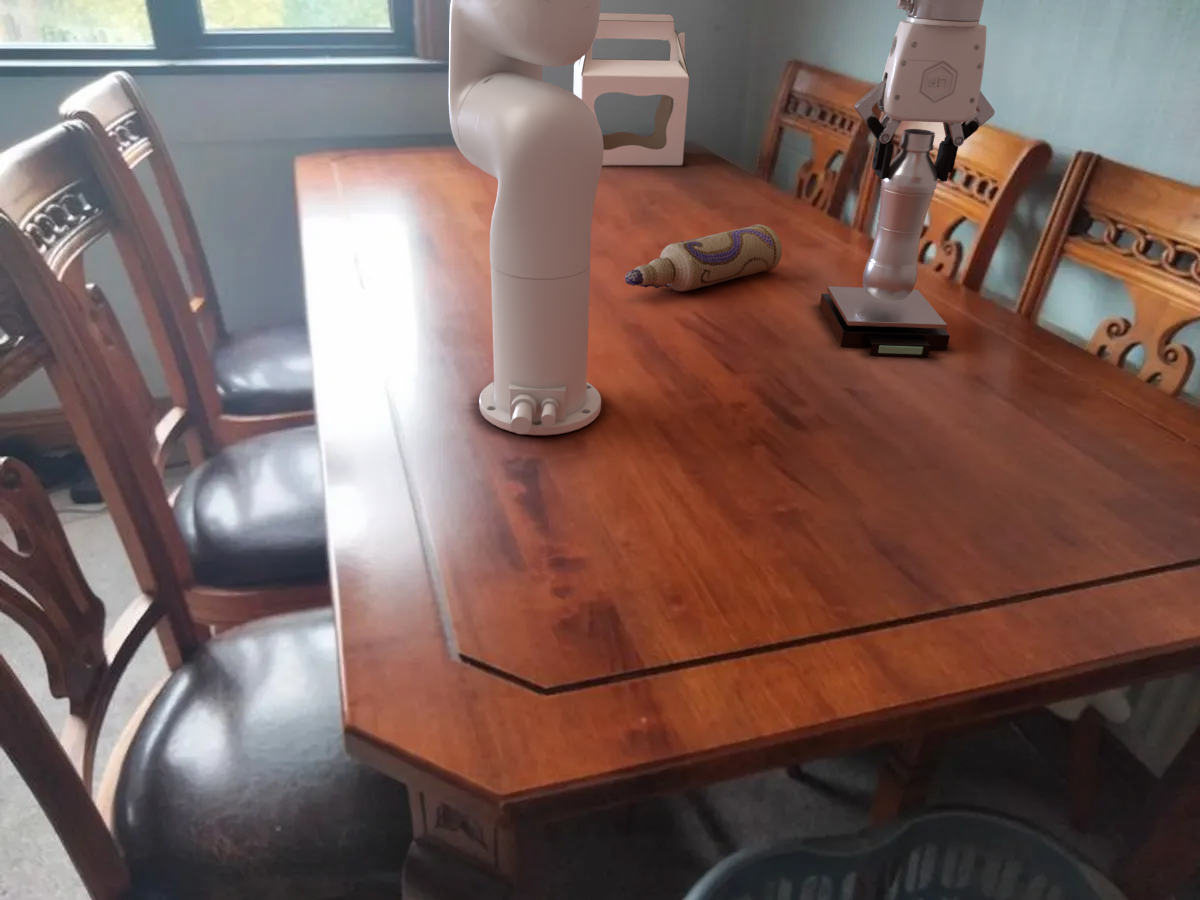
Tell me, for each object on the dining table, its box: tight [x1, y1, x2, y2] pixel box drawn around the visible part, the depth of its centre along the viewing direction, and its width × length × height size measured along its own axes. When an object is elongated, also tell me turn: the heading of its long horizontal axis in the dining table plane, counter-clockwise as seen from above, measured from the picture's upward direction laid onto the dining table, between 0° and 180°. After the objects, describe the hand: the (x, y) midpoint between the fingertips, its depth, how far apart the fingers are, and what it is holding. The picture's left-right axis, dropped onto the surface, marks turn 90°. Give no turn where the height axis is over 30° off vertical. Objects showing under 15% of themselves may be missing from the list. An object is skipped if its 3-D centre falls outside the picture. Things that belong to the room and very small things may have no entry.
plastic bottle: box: [862, 128, 939, 300], centre depth 109 cm, size 6×7×20 cm
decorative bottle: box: [624, 224, 783, 292], centre depth 127 cm, size 26×8×7 cm, turn 125°
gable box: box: [572, 12, 690, 167], centre depth 187 cm, size 22×13×28 cm, turn 98°
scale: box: [819, 285, 951, 358], centre depth 115 cm, size 16×13×3 cm
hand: (910, 176), depth 107 cm, fingers closed on plastic bottle, 6 cm apart
